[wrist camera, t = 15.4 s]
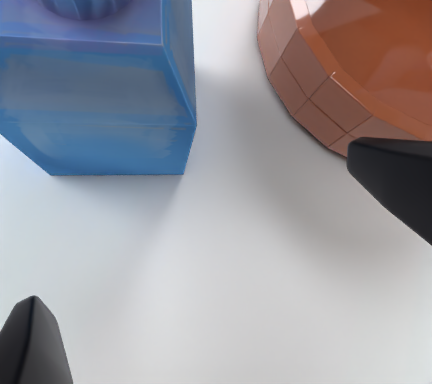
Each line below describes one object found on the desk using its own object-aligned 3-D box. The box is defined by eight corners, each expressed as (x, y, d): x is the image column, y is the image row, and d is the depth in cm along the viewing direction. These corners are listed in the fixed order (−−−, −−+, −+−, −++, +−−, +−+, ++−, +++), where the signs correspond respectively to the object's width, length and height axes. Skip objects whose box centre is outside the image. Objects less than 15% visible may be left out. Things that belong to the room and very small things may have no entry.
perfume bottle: (56, 56, 17) (-156, -377, 6) (179, 62, 18) (216, -291, 7) (50, 175, 16) (-239, -63, 4) (183, 174, 17) (236, -19, 5)
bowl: (537, 102, 22) (632, 62, 17) (354, 224, 18) (417, 211, 14) (400, -87, 23) (455, -168, 19) (205, -12, 19) (218, -92, 15)
